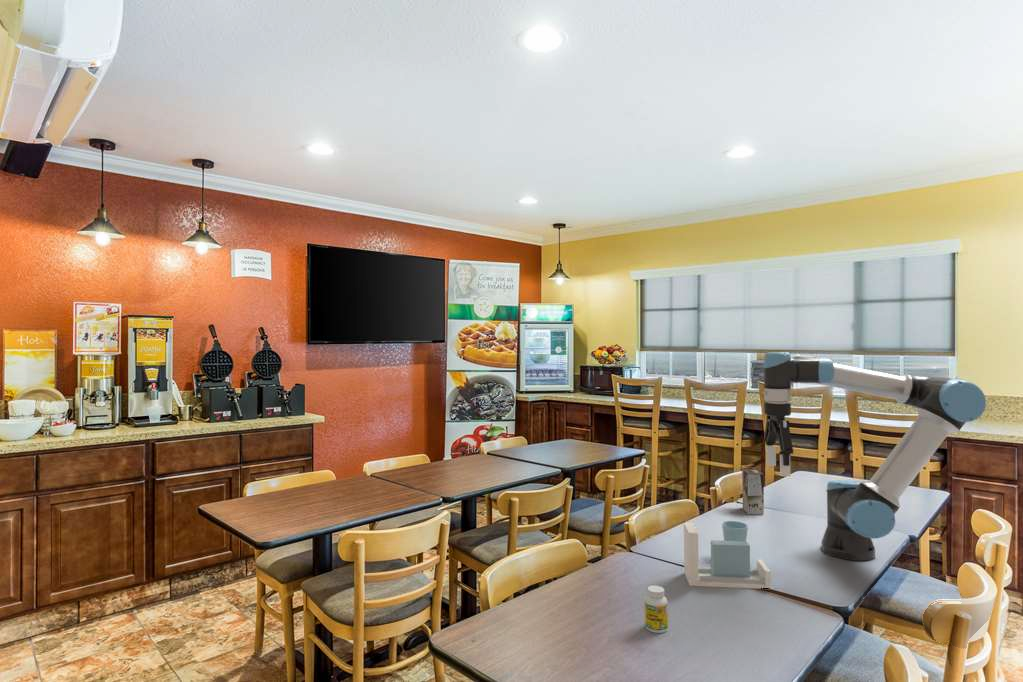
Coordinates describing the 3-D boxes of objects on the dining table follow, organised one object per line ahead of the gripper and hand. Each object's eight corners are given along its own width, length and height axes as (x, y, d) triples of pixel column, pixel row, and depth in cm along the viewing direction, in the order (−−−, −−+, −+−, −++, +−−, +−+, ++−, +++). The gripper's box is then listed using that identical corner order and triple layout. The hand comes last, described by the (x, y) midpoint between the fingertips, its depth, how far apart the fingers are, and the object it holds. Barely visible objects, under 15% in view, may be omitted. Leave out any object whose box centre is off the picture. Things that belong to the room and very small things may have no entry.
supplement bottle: (669, 624, 144) (668, 586, 144) (666, 635, 139) (666, 595, 139) (646, 621, 146) (646, 582, 146) (643, 631, 141) (643, 591, 141)
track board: (761, 576, 172) (761, 525, 172) (771, 589, 163) (770, 535, 163) (684, 573, 175) (683, 522, 175) (689, 585, 166) (689, 532, 166)
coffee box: (764, 515, 230) (764, 474, 230) (747, 514, 231) (747, 473, 231) (758, 508, 239) (757, 468, 239) (741, 507, 240) (741, 468, 240)
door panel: (746, 575, 170) (746, 541, 170) (750, 580, 166) (749, 545, 166) (711, 574, 171) (710, 540, 171) (713, 579, 168) (713, 544, 168)
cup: (753, 559, 185) (753, 526, 185) (735, 563, 182) (734, 529, 182) (735, 551, 192) (735, 519, 192) (717, 555, 189) (717, 523, 189)
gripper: (753, 397, 194) (753, 461, 194) (777, 406, 169) (778, 480, 169) (777, 397, 193) (777, 462, 193) (805, 407, 168) (805, 480, 168)
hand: (777, 470), depth 181 cm, fingers open, 13 cm apart
